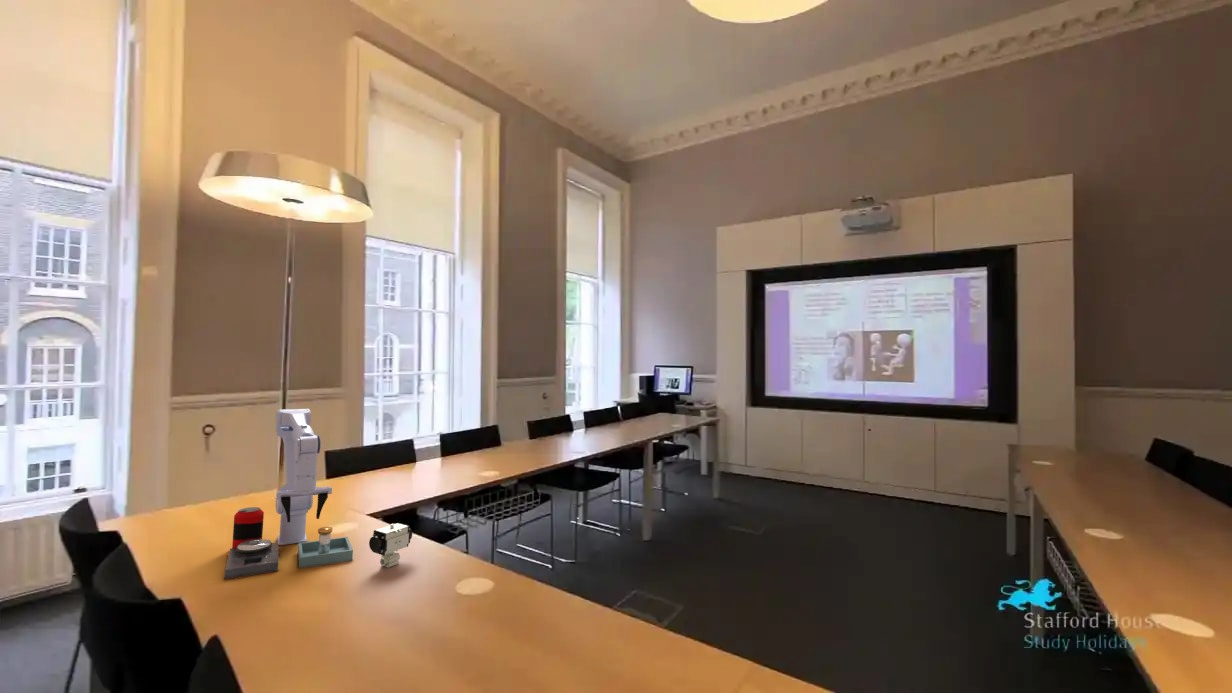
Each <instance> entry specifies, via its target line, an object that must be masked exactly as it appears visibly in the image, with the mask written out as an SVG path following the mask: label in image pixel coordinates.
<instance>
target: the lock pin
mask: <svg viewBox="0 0 1232 693" xmlns="http://www.w3.org/2000/svg"><path fill="white" fill-rule="evenodd" d="M331 533H333V527H332V526H322V527H319V528H318V530H317V534H319V537H318V540H319V550H318V554H324V553H330V539H331V538H332V537H331Z"/></svg>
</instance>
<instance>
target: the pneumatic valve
mask: <svg viewBox="0 0 1232 693" xmlns="http://www.w3.org/2000/svg"><path fill="white" fill-rule="evenodd" d="M412 537H413V530H412V529H411V527H410V525H408V524H404V523H400V522H397V523H390V525H388V526H385V527H384V526H383V527H382V528H377V529H375V530H373V534H372V536H371V538H369V543H368V545H369V549H370V551H371V552H372V553H375V554H377V555H381V558H380V560H379V564H380V566H382V567H386V568H388V569H389V568H392V567H394V566H397V565H398V564H399V563H400V558H401V555H400V552H398V551H399V550H401V549H404V548H407V547H409V544H411V539H412Z"/></svg>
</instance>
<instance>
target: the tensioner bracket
mask: <svg viewBox="0 0 1232 693" xmlns="http://www.w3.org/2000/svg"><path fill="white" fill-rule="evenodd" d="M224 569H225V570H224V571H225V572H224V580H229V579H235V578H240V577H241V578H242V577H248V576H254V575H259V574H266V573H273V572H278V571H279V545H278V541H277V542H276V541H275V542H272V541H271V540H269V539H267V538H262V539H253V540H250V541H246V542H243V543H241V544H239V545H238V546H237V548H232V547H231V548H230V549H229V552H228V557H227V561H226V565H225V568H224Z"/></svg>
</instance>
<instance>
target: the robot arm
mask: <svg viewBox="0 0 1232 693" xmlns="http://www.w3.org/2000/svg"><path fill="white" fill-rule="evenodd" d="M311 421H312V412H311V410H310V409H309V408H298V409H297V408H295V409H294V408H291V409H290V408H289V409H288V408H285V409H281V408H278V410H277V411H276V412H275V432H276V436H277V437H279V438H281V439H282V442H283V450H284V453H283V454H284V471H285V472H284V474H285V484H284V485H282V486H281V487H280V488H278V490H277V491H276V494H275V496H276V497H275V498H276V499H275V511H276V514H278V515H280V523H279V534H278V535H277V542H278V546H283V545H291V544H298V543H303V542H308V539H307V533H306V526H307V513H309V511H310V510H311V509H312V508H313V506H314V505H313V504H314V496H317V507H316V512H315V513H316V514H315V515H316V518H315V519H317V520H320V517H321V513H322V510H323V508H324V505H325V504H326V501H327V499H328V497H329V495H332V494H333V488H332V486H317V473H318V454H320V453H321V446H322V445H321V444H322V442H321V437H320V436H321V435H320V434H315V432H314V431H313V428H312V427H311V426H310V424H311Z"/></svg>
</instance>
